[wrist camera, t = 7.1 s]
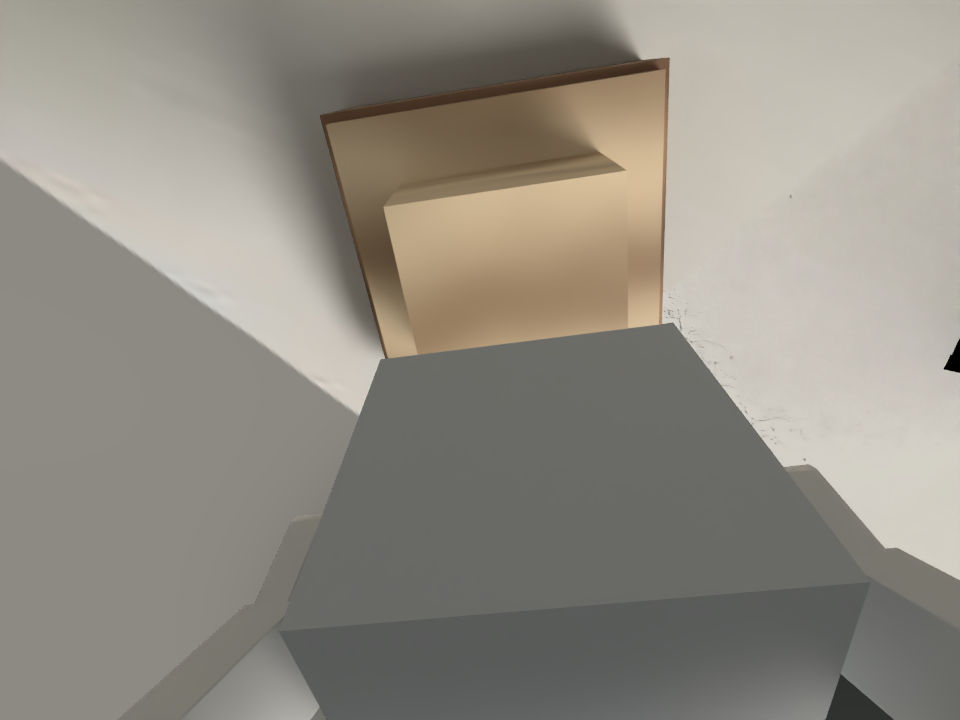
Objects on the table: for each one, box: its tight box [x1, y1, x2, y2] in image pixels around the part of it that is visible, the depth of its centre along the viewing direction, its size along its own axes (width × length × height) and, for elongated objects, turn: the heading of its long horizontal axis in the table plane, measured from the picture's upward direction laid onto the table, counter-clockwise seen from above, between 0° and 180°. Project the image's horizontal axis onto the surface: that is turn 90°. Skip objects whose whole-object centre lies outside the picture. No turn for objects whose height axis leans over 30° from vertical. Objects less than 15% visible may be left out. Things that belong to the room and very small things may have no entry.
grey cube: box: [279, 323, 871, 720], centre depth 8 cm, size 5×5×5 cm
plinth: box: [320, 58, 670, 359], centre depth 21 cm, size 12×12×4 cm
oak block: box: [383, 152, 628, 355], centre depth 18 cm, size 7×7×4 cm
